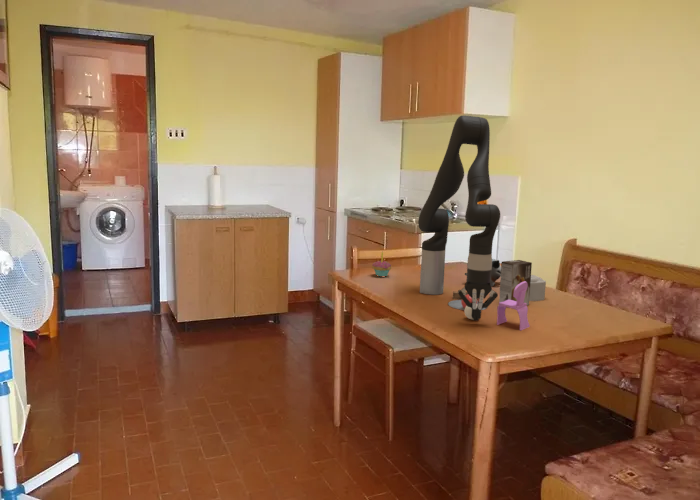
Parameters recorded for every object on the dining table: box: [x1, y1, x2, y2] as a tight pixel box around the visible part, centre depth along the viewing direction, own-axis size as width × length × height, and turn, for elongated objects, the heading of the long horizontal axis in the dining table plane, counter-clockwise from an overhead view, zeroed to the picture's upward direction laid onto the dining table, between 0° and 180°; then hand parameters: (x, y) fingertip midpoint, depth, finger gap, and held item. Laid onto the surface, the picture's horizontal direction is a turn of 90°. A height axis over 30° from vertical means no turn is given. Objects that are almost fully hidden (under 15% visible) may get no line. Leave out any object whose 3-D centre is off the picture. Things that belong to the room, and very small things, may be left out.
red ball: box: [460, 294, 478, 308], centre depth 193 cm, size 6×6×6 cm
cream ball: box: [463, 304, 478, 321], centre depth 182 cm, size 6×6×6 cm
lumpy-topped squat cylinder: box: [529, 274, 547, 302], centre depth 212 cm, size 10×13×9 cm
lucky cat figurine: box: [464, 258, 502, 288], centre depth 232 cm, size 15×12×14 cm
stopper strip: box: [452, 291, 478, 301], centre depth 208 cm, size 10×2×2 cm, turn 82°
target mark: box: [447, 299, 487, 311], centre depth 199 cm, size 14×14×1 cm
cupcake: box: [371, 250, 392, 277], centre depth 243 cm, size 9×8×12 cm
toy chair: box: [496, 281, 530, 331], centre depth 175 cm, size 8×9×15 cm
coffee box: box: [498, 259, 533, 306], centre depth 200 cm, size 9×6×16 cm
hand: (476, 319), depth 176 cm, fingers closed
